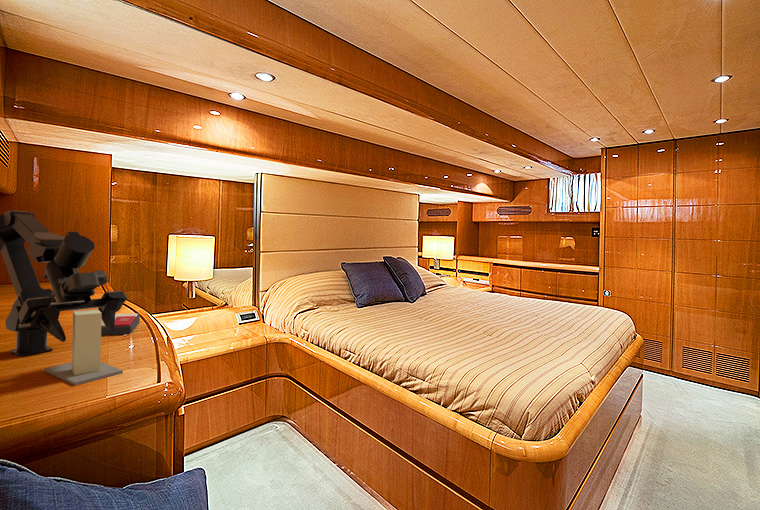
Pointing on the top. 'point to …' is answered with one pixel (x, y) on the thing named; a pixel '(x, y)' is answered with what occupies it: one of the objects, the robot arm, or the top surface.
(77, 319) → the block
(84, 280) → the robot arm
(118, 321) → the black red white box
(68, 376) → the mat
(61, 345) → the top surface
